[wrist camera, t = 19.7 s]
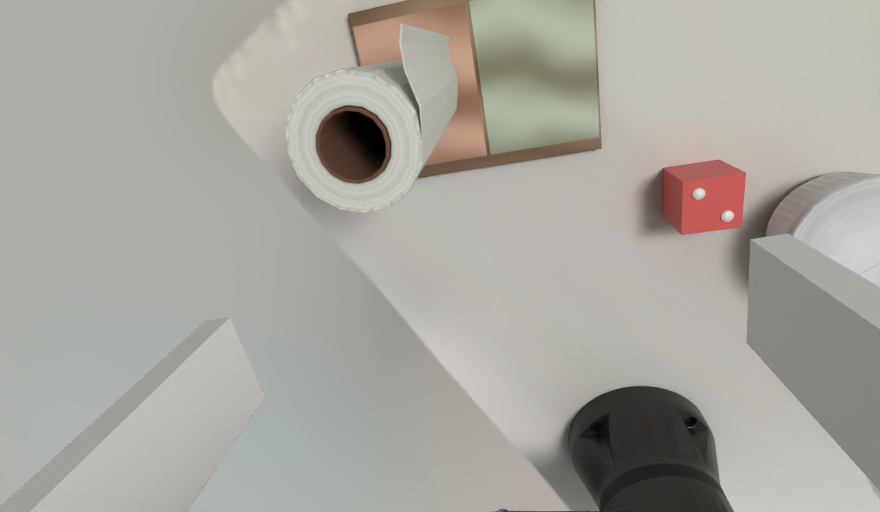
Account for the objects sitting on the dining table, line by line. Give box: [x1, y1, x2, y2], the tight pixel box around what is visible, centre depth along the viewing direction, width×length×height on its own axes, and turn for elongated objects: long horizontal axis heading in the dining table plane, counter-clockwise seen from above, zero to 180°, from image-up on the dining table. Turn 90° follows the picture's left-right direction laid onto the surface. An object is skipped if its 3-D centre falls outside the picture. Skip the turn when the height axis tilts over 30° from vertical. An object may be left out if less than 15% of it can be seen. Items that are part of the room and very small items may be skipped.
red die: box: [663, 160, 746, 235], centre depth 38 cm, size 4×4×5 cm
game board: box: [348, 0, 602, 178], centre depth 38 cm, size 14×19×1 cm
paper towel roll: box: [286, 24, 458, 213], centre depth 29 cm, size 7×6×21 cm
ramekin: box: [766, 172, 880, 287], centre depth 38 cm, size 11×11×5 cm
